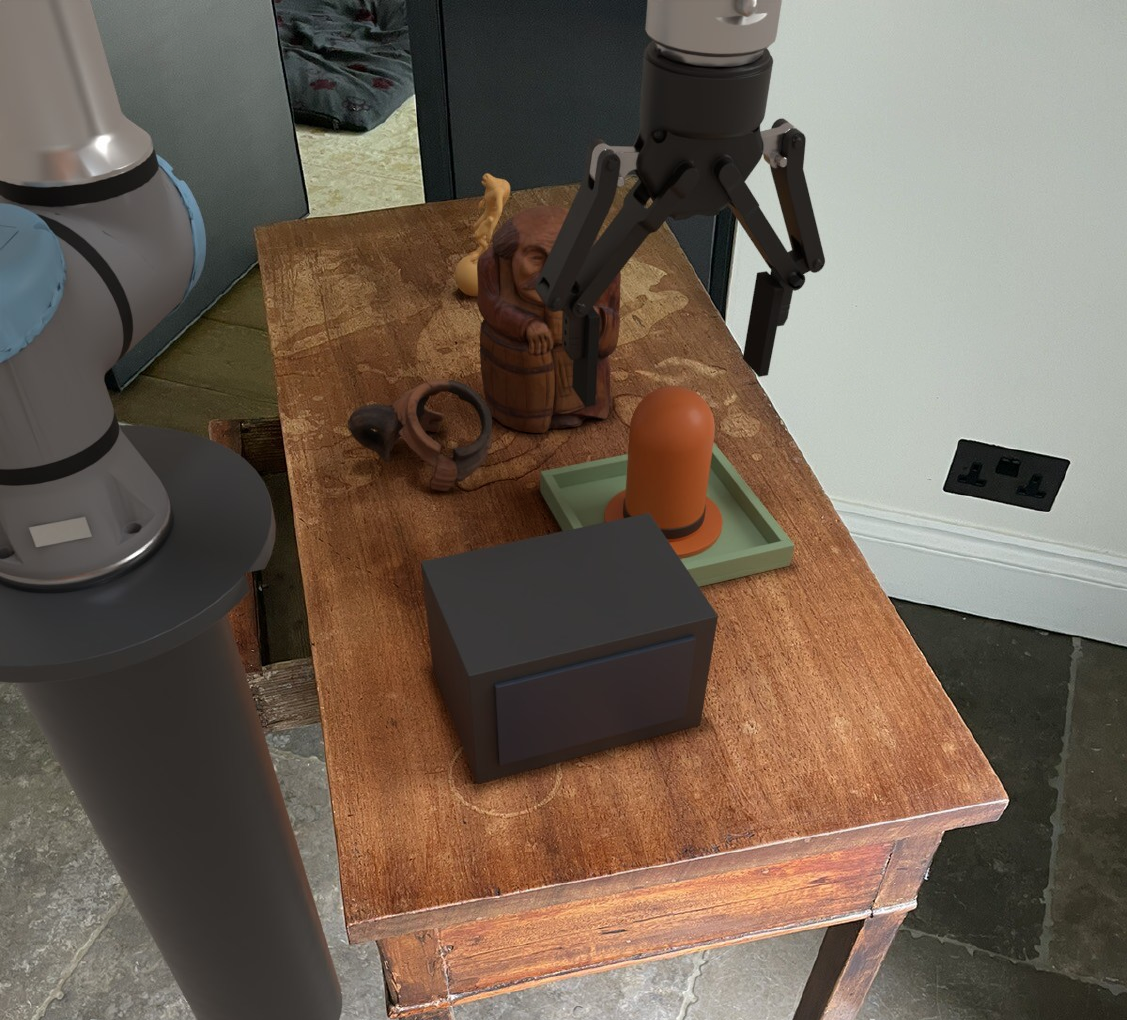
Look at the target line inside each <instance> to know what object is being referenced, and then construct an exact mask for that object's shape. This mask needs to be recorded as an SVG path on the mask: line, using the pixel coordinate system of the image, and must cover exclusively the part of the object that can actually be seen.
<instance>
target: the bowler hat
mask: <svg viewBox="0 0 1127 1020" xmlns="http://www.w3.org/2000/svg"><path fill="white" fill-rule="evenodd" d="M715 423H716V422H715V418H714V414H713V412H712V410H711V408H710V406H709V403H707V401H706V400H705V399H704V398H703V397H702V396H701V395H700V394H699V393H698V392H696V391H694V390H693V389H690V388H688V387H685V386H682V385H681V386H680V385H666V386H662V387H659V388H657V389H654V390H652V391H650V392H649V393H648V394H647V395H645V396H644V397H643V398H642V399H641V401H639V403H638V404H637V406H636V407H635V409H634V411H633V413H632V416H631V419H630V423H629V434H628V447H627V454H628V462H627V477H626V489H625V490H623V491H622V492H620V493H618V494H617V495H616V496H614V497H613V498H612V499H611V501H610V502H609V503H608V505H607V507H606V509H605V514H604V522H609V521H614V520H618V519H623V518H628V517H632V516H637V515H642V514H646V513H650V515H651V516H652V518H653V519H654V521H655V522H656V524H657V525H658V527H659V528H660V530H661V531H662V533H663V534H664V536H665V537H666V539H667V540H668V542H669V543H670V545H671V546H672V548H673V549H674V551H675V552H676V554H677V555H678V557H679V558H680V559H682V558H687V557H691V556H694V555H697V554H699V553H701V552H703V551H705V550H707V549H708V548H710V547H711V546H712V545H713V544H714V543H715V542H716V541H717V539H718V538H719V536H720V534H721V530H722V515H721V513H720V510H719V509H718V507H717V506H716V505H715V503H714V502H713V501H712V500H711V499H709V498H708V497H707V496H706V494H707V486H708V479H709V472H710V464H711V457H712V450H713V442H714V441H715V434H716V432H715V431H716V424H715ZM714 443H715V442H714Z"/></svg>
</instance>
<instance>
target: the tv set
mask: <svg viewBox="0 0 1127 1020" xmlns="http://www.w3.org/2000/svg"><path fill="white" fill-rule="evenodd" d="M420 571H421V578H422V587H423V596H424V602H425V603H424V605H425V614H426V621H427V622H426V623H427V631H428V632H427V633H428V639H429V641H428V642H429V648H430V658H431V666H432V673H433V675H434V678H435V680H436V683H437V685H438V688H439V691H440V693H441V696H442V699H443V700H444V703H445V706H446V709H447V711H448V713H449V716H450V719H451V721H452V724H453V726H454V729H455V732H456V734H457V736H458V740H459V742H460V744H461V748H462V750H463V752H464V754H465V758H466V759H467V762H468V765H469V768H470V770H471V772H472V775H473V777H474V779H475V783H476V784H477V785H478V784H479V785H480V784H483V783H486V782H490V781H493V780H498V779H501V778H506V777H509V776H512V775H516V774H520V773H524V772H528V771H530V770H535V769H539V768H542V767H543V768H544V767H546V766H550V765H553V764H557V763H561V762H566V761H570V760H572V759H576V758H580V757H584V756H587V755H591V754H595V753H600V752H603V751H607V750H611V749H614V748H617V747H618V748H619V747H623V746H627V745H629V744H633V743H636V742H637V743H638V742H640V741H644V740H648V739H652V738H656V737H660V736H663V735H667V734H671V733H674V732H679V731H683V730H685V729H690V728H693V727H696V726H697V727H698V726H701V723H702V717H703V711H704V705H705V700H706V699H705V698H706V693H707V686H708V680H709V674H710V668H711V663H712V662H711V660H712V656H713V650H714V645H715V637H716V631H717V625H718V619H719V615H718V614H717V612H716V611H715V609H714V607H713V606H712V604H711V603H710V602H709V600H708V598H707V597H706V595H705V594H704V593H703V591H702V589H701V587H698V585H697V584H696V582H695V581H694V579H693V578H692V576H691V575H690V573H689V572H688V570H687V569H686V567H685V566H684V564H683V563H682V561H681V560H680V558H679V557H678V555H677V554H676V552H675V551H674V549H673V548H672V546H671V545H670V543H669V542H668V540H667V539H666V537H665V536H664V534H663V533H662V531H661V530H660V528H659V527H658V525H657V524H656V522H655V521H654V519H653V518H652V516H651V515H650V513H646V514H642V515H637V516H632V517H628V518H623V519H618V520H614V521H609V522H604V523H600V524H595V525H590V526H586V527H581V528H576V529H571V530H567V531H562V530H561V531H557V532H553V533H548V534H544V535H540V536H534V537H530V538H525V539H521V540H516V541H512V542H511V541H510V542H507V543H501V544H497V545H492V546H488V547H483V548H479V549H473V550H469V551H463V552H459V553H455V554H449V555H446V556H441V557H435V558H431V559H427V560H421V561H420Z"/></svg>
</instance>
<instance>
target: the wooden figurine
mask: <svg viewBox="0 0 1127 1020" xmlns="http://www.w3.org/2000/svg"><path fill="white" fill-rule="evenodd" d="M569 210H570V209H568V208H566V207H564V206H557V205H556V206H555V205H546V204H541V205H536V206H532V207H529V208H525V209H522V210H520V211H518V213H515V214H514V215H512V216H511V217H510V218H508V219H507V220H506V221H505V222H504V223H503V224H502V225H501V226H500V227H499V228H498V229H497V230H496V232H495V233H493V235H492V245H491V246H488V249H487V250H486V251H484V252H483V253H482V254H481V255H480V257H479V258H478V262H477V278H478V296H476V303H477V308H478V311H479V313H480V316H481V317H482V318H483V320H482V321H481V322H480V328H479V359H480V371H481V372H480V373H481V379H482V386H483V394H484V399H485V403H486V405H487V406H488V408H489V411H490V413H491V418H493V419H495V420H497V422H499V423H500V424H501V425H503V426H505V427H509V428H511V429H513V430H515V431H519V432H523V433H531V434H543V433H546V432H547V431H548V430H550V429H559V430H562V429H563V430H564V429H566V428H574V427H575V428H576V427H580V426H581V425H582V424H583V422H584V420H586V419H601V420H605V419H606V420H607V418H608V416H609V413H610V404H611V366H610V365H611V364H610V358H609V357H610V355H612V354H614V352H615V351H616V349H617V346H618V343H619V337H620V325H621V317H620V309H621V308H620V307H621V284H622V283H621V282H622V281H621V280H622V275H621V271H620V272H619V274H618V275H617V276H616V277H615V279H614V280H613V281H612V283H611V284H610V285H609V287H608V288H607V289H606V290H605V292H604V293H603V294H602V296H601V297H600V298H599V299H598V301H597V302H596V303H595V305H594V306H593V308H594V309H595V310H596V312H597V313H598V314H599V316H600V331H599V349H598V367H597V385H596V402H595V405H594V406H588V407H585V406H584V404H583V403H582V401H581V400H580V398H579V397H578V395H577V394H576V392H575V391H574V389H573V388H572V381H573V360H571V359H570V358H569V356H568V355H567V353H566V352H565V350H564V348H563V346H562V313H563V311H560V310H559V311H557V312H552V311H550V310H549V309H548V308H547V306H546V305H545V303H544V302H543V301H542V299H541V298H540V296H539V295H538V293H537V292H536V290H535V285H536V282H537V280H538V277H539V275H540V273H541V271H542V269H543V266H544V264H545V262H546V260H547V258H548V255H549V253H550V251H551V249H552V247H553V245H554V242H555V240H556V238H557V236H558V234H559V231H560V229H561V227H562V225H563V223H564V220H565V218H566V216H567V214H568V212H569ZM599 238H600V237H598V236H597V237H596V239H595V241H594V243H593V245H592V247H593V246H594V244H595V243H596V242H597V241H598V239H599ZM592 247H591V248H592Z"/></svg>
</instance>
